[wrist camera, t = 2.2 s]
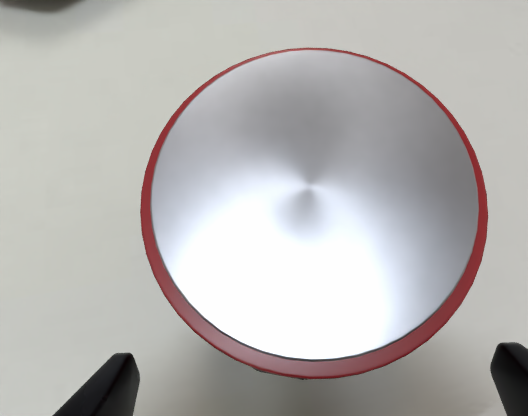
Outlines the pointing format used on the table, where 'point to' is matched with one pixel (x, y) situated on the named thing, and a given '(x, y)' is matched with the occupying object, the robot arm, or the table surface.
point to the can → (314, 213)
